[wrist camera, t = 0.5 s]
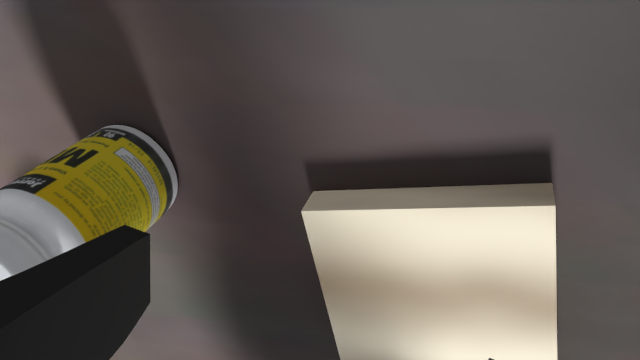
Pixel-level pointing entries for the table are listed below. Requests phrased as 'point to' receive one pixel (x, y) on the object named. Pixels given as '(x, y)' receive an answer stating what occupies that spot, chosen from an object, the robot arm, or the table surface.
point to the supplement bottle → (84, 196)
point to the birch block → (438, 271)
